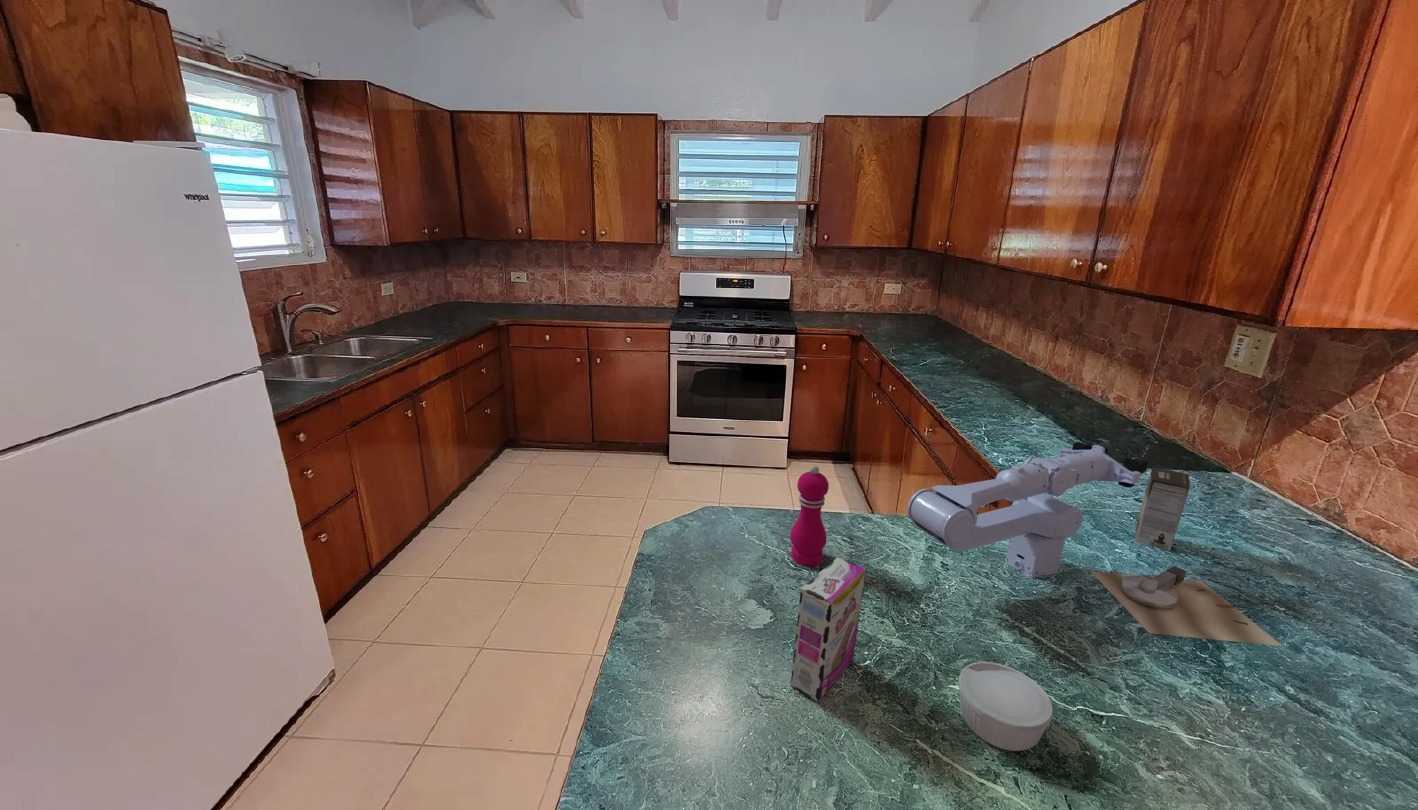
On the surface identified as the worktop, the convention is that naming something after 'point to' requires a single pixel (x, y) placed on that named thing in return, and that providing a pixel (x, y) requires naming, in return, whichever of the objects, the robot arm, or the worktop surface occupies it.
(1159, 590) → the dial
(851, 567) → the candy bar box
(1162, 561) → the worktop surface
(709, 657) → the worktop surface
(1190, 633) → the dial board
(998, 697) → the ramekin
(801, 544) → the pepper mill
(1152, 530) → the coffee box
